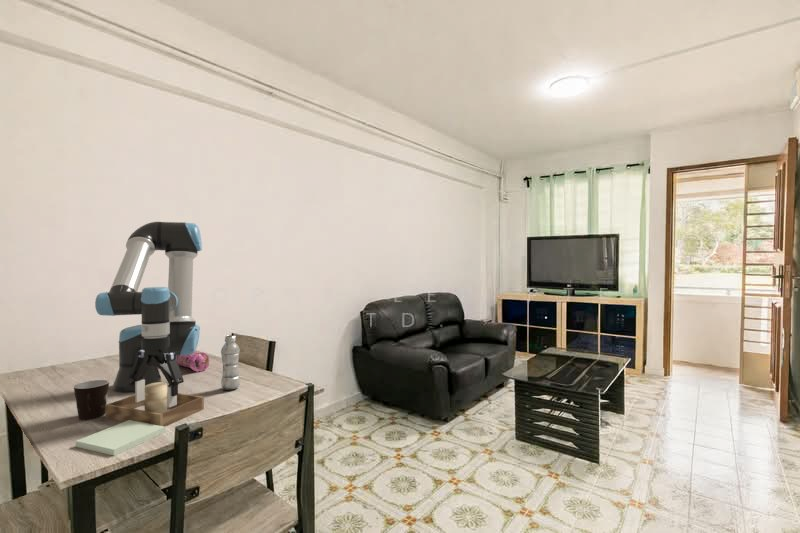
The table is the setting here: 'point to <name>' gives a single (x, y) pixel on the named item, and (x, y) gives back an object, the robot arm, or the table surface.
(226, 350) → the plastic bottle
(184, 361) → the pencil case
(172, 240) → the robot arm
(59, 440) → the table surface
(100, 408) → the coffee mug
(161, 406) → the light wood cylinder
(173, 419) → the walnut frame
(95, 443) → the mint green tile
